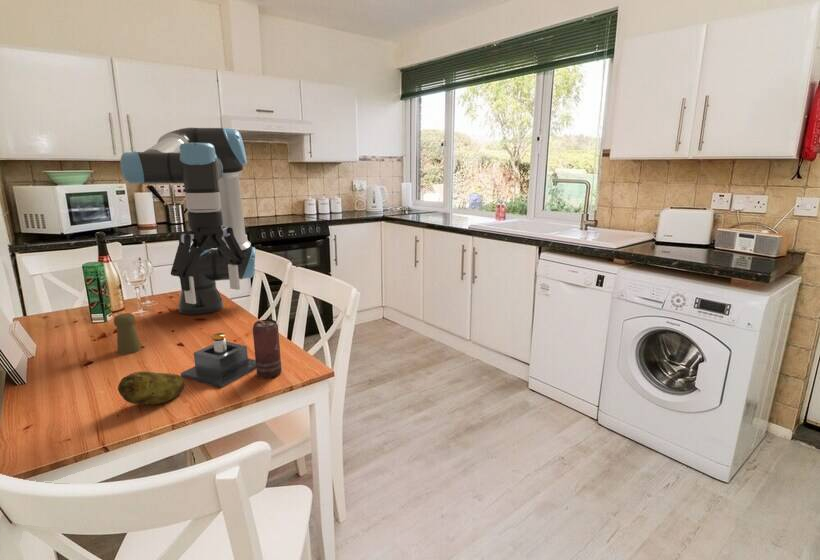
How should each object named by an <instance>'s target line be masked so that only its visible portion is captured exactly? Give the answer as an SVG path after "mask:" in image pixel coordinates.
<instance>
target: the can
mask: <svg viewBox="0 0 820 560" xmlns="http://www.w3.org/2000/svg"><path fill="white" fill-rule="evenodd" d="M252 335H253V337H252V338H253V346H254V348H253V349H254V357H255V358H254V360H256V369H255V371H256V375H257V376H258V377H259V378H260V377H262V378H261V379H272V378H271V377H273V378H276V377H278V376H279V375H280V374H281V372H282V361H281V360H282V358H281V348H280V347H281V345H280V344H281V343H280V332H279V324H278V322H277V321H276V320H274V319H261V320H260V319H259V320H257V321H256V322H254V323H253V326H252ZM277 375H278V376H277ZM275 376H276V377H275Z"/></svg>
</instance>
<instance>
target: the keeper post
mask: <svg viewBox="0 0 820 560" xmlns="http://www.w3.org/2000/svg"><path fill="white" fill-rule="evenodd" d="M212 342H213V343H212V345H213V344H214V352H215V355H218V356H221V355H223V354H225V353H227V346H226V342H227V339H226V333H224V332H217V333H214V334H213V335H212ZM254 369H255V370H256V359H252V358H249V357H248V364H247V365H245V366H243V367H241V368H239V369H237V370H235V371H233V372H231V373H230V374H228V375H226V376H224V377H222V378H220V377H217V376H213V375H210V374H206V373H202V372H199V371H196V367H195V365H194V366H192V367H190V368H188V369H186V370H185V371H182V372H180V376H181V377H183V379H184V378H185V379H188V380H192V381H194V382H199V383H203V384H205V385H209V386H212V387H216V388H219V389H222V388H224V387H226V386H228V385H229V384H232V383H233V382H235V381H237V380H239V379H240V378H243V377H244V376H246V375H247V373H248V374H249V373H251V372H252V371H254ZM245 374H246V375H245Z"/></svg>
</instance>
